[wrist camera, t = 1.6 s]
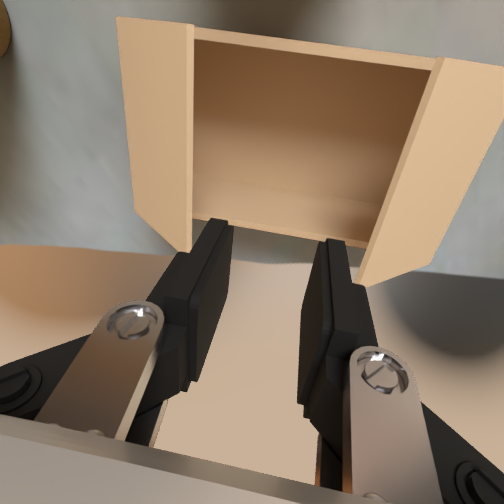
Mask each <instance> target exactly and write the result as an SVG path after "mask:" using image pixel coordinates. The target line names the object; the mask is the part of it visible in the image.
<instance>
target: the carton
mask: <svg viewBox="0 0 504 504" xmlns="http://www.w3.org/2000/svg"><path fill="white" fill-rule="evenodd" d="M435 60H436V59H435V58H428V57H420V56H413V55H405V54H397V53H390V52H382V51H375V50H367V49H359V48H352V47H344V46H337V45H329V44H321V43H314V42H306V41H299V40H291V39H284V38H276V37H268V36H261V35H253V34H246V33H238V32H230V31H223V30H215V29H208V28H200V27H194V88H193V185H192V218H193V219H199V220H205V221H209V220H210V218H217V219H223V220H228V225H233V226H239V227H245V228H250V229H256V230H262V231H267V232H273V233H279V234H284V235H290V236H296V237H301V238H307V239H313V240H318V241H324V242H325V241H326V239H327V238H331V239H337V240H342V241H345V245H347V246H352V247H358V248H364V249H367V246H368V244H369V241H370V238H371V236H372V233H373V230H374V227H375V225H376V222H377V219H378V216H379V214H380V211H381V208H382V205H383V203H384V200H385V197H386V194H387V192H388V189H389V186H390V183H391V181H392V178H393V175H394V172H395V170H396V167H397V164H398V162H399V159H400V156H401V153H402V151H403V148H404V145H405V142H406V140H407V137H408V134H409V131H410V129H411V126H412V123H413V120H414V118H415V115H416V112H417V109H418V107H419V104H420V101H421V98H422V96H423V93H424V90H425V88H426V85H427V82H428V79H429V77H430V74H431V71H432V68H433V66H434V63H435Z"/></svg>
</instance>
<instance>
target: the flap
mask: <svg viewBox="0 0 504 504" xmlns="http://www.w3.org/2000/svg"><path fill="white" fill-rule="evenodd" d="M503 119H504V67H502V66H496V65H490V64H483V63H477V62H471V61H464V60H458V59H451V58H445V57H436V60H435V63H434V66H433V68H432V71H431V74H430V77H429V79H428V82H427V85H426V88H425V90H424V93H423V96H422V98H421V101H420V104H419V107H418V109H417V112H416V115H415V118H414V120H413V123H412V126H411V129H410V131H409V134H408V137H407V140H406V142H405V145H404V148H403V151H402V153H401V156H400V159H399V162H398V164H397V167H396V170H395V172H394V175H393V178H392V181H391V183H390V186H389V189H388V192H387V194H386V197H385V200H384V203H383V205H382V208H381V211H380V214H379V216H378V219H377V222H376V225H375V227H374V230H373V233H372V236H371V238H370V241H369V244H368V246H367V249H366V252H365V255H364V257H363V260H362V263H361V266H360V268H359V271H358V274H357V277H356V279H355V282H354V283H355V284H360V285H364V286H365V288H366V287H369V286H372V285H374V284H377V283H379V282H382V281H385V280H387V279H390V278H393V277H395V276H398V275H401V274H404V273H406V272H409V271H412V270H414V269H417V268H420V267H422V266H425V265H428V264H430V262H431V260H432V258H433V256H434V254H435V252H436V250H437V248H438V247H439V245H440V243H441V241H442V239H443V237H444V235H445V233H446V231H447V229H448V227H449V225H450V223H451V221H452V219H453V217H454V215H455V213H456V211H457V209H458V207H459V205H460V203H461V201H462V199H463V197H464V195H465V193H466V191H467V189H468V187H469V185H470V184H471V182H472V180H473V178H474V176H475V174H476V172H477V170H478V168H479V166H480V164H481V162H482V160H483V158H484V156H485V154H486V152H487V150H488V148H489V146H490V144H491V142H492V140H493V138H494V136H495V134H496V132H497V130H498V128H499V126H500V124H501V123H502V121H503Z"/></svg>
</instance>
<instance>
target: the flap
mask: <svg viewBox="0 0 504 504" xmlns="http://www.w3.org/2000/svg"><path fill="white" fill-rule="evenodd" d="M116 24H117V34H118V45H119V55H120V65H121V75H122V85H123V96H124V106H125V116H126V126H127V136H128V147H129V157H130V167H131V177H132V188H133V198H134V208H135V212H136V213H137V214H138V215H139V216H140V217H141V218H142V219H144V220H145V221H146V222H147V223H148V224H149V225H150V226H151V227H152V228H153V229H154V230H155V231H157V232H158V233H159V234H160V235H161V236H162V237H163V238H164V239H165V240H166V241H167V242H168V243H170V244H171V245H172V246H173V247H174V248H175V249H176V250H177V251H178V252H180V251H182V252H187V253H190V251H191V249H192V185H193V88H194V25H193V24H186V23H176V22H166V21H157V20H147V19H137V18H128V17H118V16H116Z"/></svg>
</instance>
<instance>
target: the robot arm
mask: <svg viewBox="0 0 504 504" xmlns="http://www.w3.org/2000/svg"><path fill="white" fill-rule="evenodd" d="M233 231H234V226H232V225H228V220H223V219H217V218H210V220H209V221H208V223H207V225H206V226H205V228H204V230H203V231H202V233H201V235H200V236H199V238H198V239H197V241H196V243H195V244H194V246H193V248H192V249H191V251H190V253H187V252H182V251H180V252H178V253H177V254H176V255H175V257H174V259H173V260H172V261H171V263H170V265H169V266H168V268H167V269H166V271H165V272H164V274H163V275H162V277H161V278H160V280H159V281H158V283H157V284H156V286H155V287H154V289H153V290H152V292H151V293H150V295H149V296H148V298H147V299H146V301H142V300H133V301H128V302H124V303H121V304H119V305H116V306H114V307H113V308H111V309H110V310H108V311H107V312H106V313H105V315H104V316H103V317H102V318H101V320H100V321H99V323H98V324H97V326H96V327H95V329H94V330H93V332H92V333H91V334H89V335H86V336H83V337H80V338H78V339H75V340H72V341H69V342H67V343H64V344H61V345H58V346H55V347H52V348H50V349H47V350H44V351H41V352H38V353H36V354H33V355H30V356H27V357H24V358H22V359H19V360H16V361H14V362H11V363H8V364H6V365H3V366H1V367H0V504H504V474H503V472H501V471H500V470H499V469H498V468H497V467H496V466H495V465H493V464H492V463H491V462H490V461H489V460H488V459H486V458H485V457H484V456H483V455H482V454H481V453H479V452H478V451H477V450H476V449H475V448H474V447H473V446H471V445H470V444H469V443H468V442H467V441H466V440H465V439H463V438H462V437H461V436H460V435H459V434H458V433H456V432H455V431H454V430H453V429H452V428H451V427H450V426H448V425H447V424H446V423H445V422H444V421H443V420H442V419H440V418H439V417H438V416H437V415H436V414H434V413H433V412H432V411H431V410H430V409H429V408H428V407H426V406H425V405H424V404H423V403H422V402H421V401H420V397H419V393H418V388H417V384H416V380H415V377H414V375H413V372H412V371H411V369H410V368H409V367H408V365H407V364H406V363H405V362H404V361H403V360H402V359H401V358H399V357H398V356H397V355H395V354H394V353H392V352H390V351H388V350H386V349H383V348H380V347H378V343H377V339H376V334H375V329H374V325H373V320H372V316H371V311H370V307H369V302H368V298H367V293H366V289H365V286H364V285H360V284H355V283H352V280H351V274H350V268H349V262H348V256H347V251H346V245H345V241H342V240H337V239H331V238H327V239H326V241H325V242H322V241H319V243H318V247H317V251H316V255H315V258H314V262H313V266H312V270H311V274H310V278H309V281H308V285H307V289H306V292H305V296H304V300H303V304H302V309H301V323H300V345H299V346H300V347H299V369H298V391H297V403H298V404H302V405H304V414H303V417H304V418H308V419H310V422H311V423H312V425H313V426H314V427H315V428H316V429H317V431H318V432H319V435H318V441H317V458H316V472H315V485H311V484H306V483H302V482H298V481H294V480H289V479H285V478H281V477H276V476H272V475H268V474H264V473H259V472H255V471H251V470H246V469H242V468H238V467H233V466H229V465H224V464H221V463H216V462H212V461H208V460H203V459H199V458H194V457H190V456H186V455H182V454H177V453H173V452H169V451H164V450H160V449H155V448H153V447H154V444H155V441H156V438H157V435H158V432H159V429H160V425H161V422H162V419H163V416H164V413H165V410H166V406H167V403H168V399H169V398H171V397H172V396H174V395H176V394H178V393H179V392H180V391H183V392H187V391H188V388H189V385H190V383H191V381H195V382H197V381H198V379H199V376H200V374H201V371H202V368H203V365H204V362H205V359H206V356H207V353H208V350H209V347H210V345H211V342H212V339H213V336H214V333H215V330H216V327H217V324H218V321H219V319H220V316H221V313H222V310H223V307H224V304H225V301H226V298H227V294H228V285H229V275H230V264H231V263H230V262H231V253H232V242H233Z"/></svg>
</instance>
